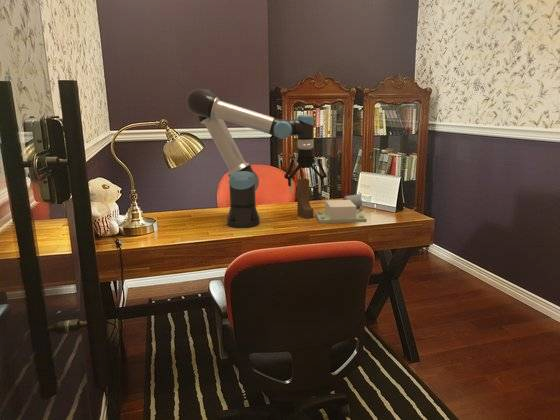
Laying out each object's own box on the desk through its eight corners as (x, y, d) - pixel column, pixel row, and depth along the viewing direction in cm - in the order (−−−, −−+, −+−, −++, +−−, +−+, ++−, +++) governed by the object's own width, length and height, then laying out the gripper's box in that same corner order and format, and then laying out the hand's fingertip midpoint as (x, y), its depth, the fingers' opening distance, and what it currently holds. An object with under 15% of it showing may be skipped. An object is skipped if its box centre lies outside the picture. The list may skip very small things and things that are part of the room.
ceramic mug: (341, 208, 233) (341, 194, 231) (355, 207, 235) (356, 192, 233) (349, 213, 223) (350, 198, 221) (364, 212, 225) (365, 197, 223)
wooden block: (313, 218, 214) (313, 181, 210) (305, 219, 213) (305, 181, 208) (305, 213, 222) (305, 178, 218) (297, 214, 221) (297, 178, 216)
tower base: (319, 223, 205) (319, 207, 203) (315, 215, 219) (315, 200, 217) (366, 221, 207) (367, 206, 205) (359, 214, 220) (359, 199, 218)
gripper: (279, 149, 205) (280, 194, 210) (333, 148, 207) (332, 193, 212) (278, 148, 212) (279, 191, 217) (330, 147, 214) (329, 190, 219)
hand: (305, 192), depth 215 cm, fingers open, 13 cm apart
